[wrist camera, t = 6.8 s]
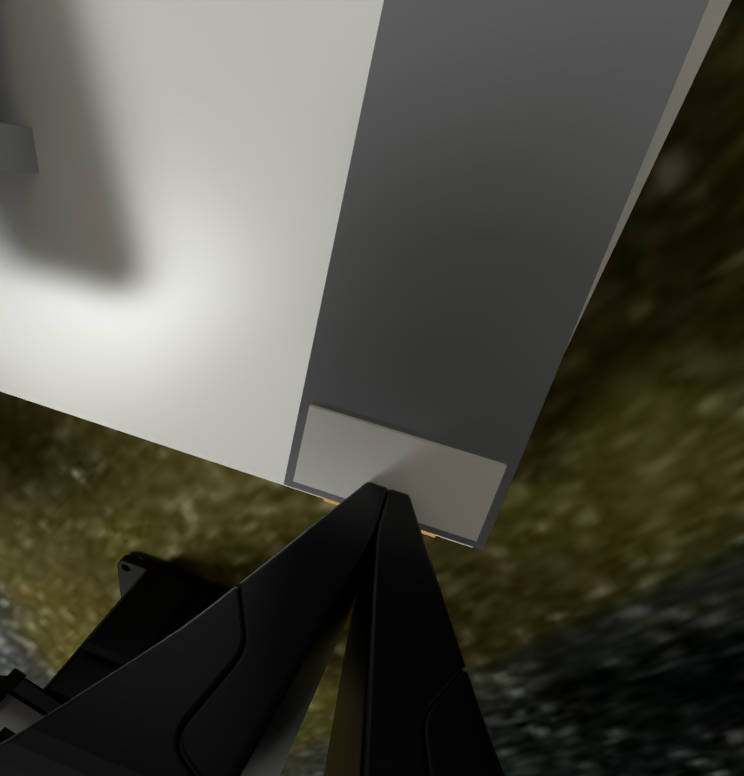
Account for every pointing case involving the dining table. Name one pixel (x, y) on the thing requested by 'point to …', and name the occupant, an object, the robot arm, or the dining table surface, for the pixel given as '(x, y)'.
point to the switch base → (187, 208)
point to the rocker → (474, 239)
